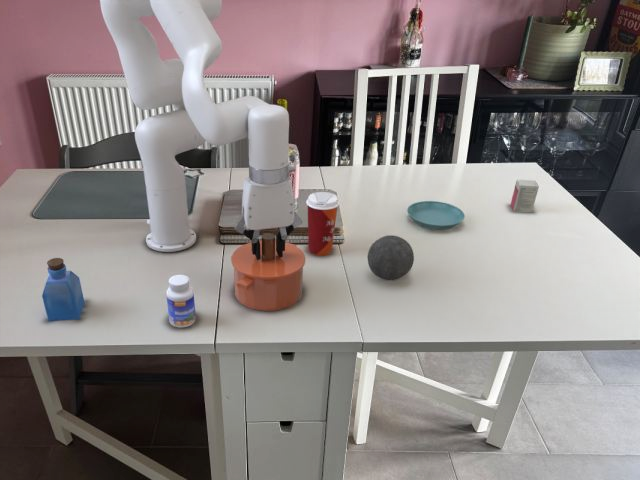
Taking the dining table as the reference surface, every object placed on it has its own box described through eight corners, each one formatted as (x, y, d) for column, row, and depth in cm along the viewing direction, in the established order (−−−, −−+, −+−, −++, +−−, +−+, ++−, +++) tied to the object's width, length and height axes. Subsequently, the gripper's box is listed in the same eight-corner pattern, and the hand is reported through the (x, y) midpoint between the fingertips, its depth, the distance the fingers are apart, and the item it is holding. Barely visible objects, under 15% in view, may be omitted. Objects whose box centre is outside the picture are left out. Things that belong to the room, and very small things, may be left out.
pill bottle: (176, 331, 112) (171, 290, 107) (165, 318, 116) (160, 277, 111) (200, 322, 115) (197, 282, 109) (188, 309, 118) (185, 269, 113)
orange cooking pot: (214, 303, 120) (212, 271, 116) (264, 263, 134) (264, 232, 130) (272, 325, 114) (272, 292, 109) (319, 280, 128) (321, 249, 123)
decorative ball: (402, 293, 123) (409, 253, 117) (359, 281, 127) (363, 242, 122) (416, 272, 130) (422, 233, 125) (374, 262, 134) (378, 224, 129)
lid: (216, 268, 118) (215, 242, 115) (257, 238, 129) (257, 213, 126) (280, 290, 111) (281, 262, 108) (318, 256, 122) (319, 230, 118)
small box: (528, 206, 159) (535, 180, 155) (532, 213, 156) (539, 186, 151) (509, 205, 160) (516, 179, 156) (512, 211, 156) (519, 185, 152)
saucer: (401, 228, 149) (402, 219, 147) (410, 206, 160) (412, 197, 159) (460, 238, 144) (462, 228, 142) (465, 214, 155) (467, 205, 154)
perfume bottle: (54, 303, 121) (42, 254, 114) (84, 302, 121) (74, 253, 115) (48, 321, 116) (35, 270, 109) (79, 319, 116) (68, 268, 110)
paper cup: (334, 259, 135) (338, 205, 128) (302, 256, 137) (304, 202, 129) (337, 244, 142) (340, 191, 134) (306, 241, 143) (308, 189, 136)
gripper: (305, 162, 114) (302, 242, 124) (222, 169, 111) (225, 251, 121) (316, 175, 107) (311, 259, 117) (228, 183, 105) (231, 269, 115)
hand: (268, 254), depth 119 cm, fingers open, 4 cm apart
